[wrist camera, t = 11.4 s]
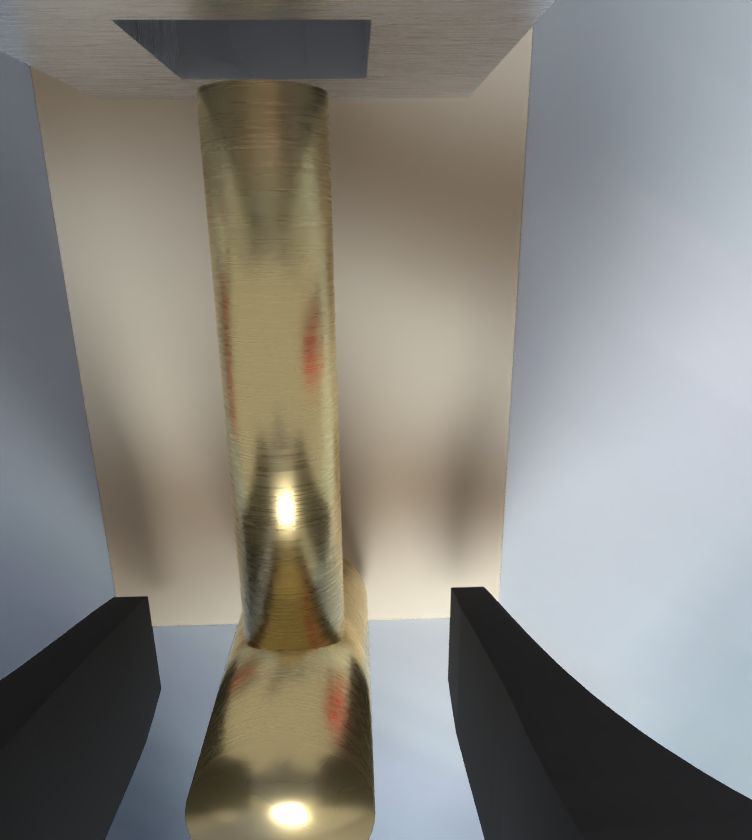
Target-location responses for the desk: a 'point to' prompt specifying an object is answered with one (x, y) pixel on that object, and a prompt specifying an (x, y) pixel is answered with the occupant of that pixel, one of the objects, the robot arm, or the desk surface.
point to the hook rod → (282, 484)
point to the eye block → (267, 44)
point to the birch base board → (355, 337)
